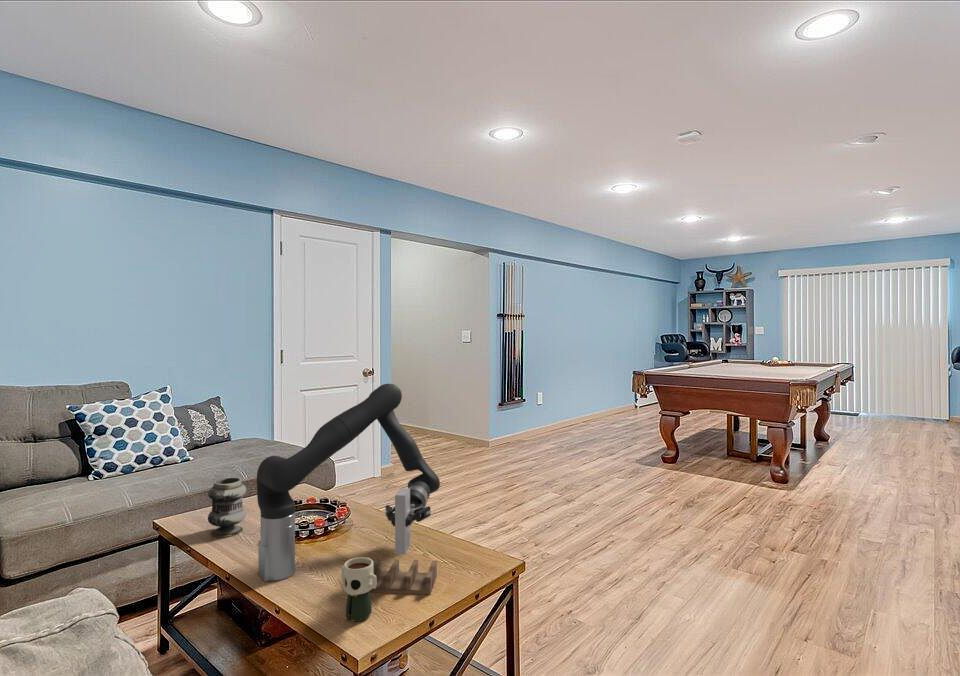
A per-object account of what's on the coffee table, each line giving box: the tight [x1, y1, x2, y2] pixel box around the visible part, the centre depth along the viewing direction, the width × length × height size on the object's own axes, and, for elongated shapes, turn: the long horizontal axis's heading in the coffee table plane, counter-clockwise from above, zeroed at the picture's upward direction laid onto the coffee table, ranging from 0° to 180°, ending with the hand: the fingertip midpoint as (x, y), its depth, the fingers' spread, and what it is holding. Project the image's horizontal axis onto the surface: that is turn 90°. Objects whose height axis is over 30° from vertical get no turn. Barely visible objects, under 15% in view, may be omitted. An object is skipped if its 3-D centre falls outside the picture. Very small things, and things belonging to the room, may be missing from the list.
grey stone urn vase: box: [207, 476, 248, 538], centre depth 180 cm, size 12×12×18 cm
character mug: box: [340, 556, 377, 622], centre depth 127 cm, size 11×7×13 cm, turn 61°
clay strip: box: [394, 487, 411, 555], centre depth 143 cm, size 6×3×16 cm, turn 175°
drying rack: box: [369, 558, 438, 595], centre depth 144 cm, size 10×17×4 cm, turn 85°
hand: (400, 522), depth 141 cm, fingers closed on clay strip, 2 cm apart
